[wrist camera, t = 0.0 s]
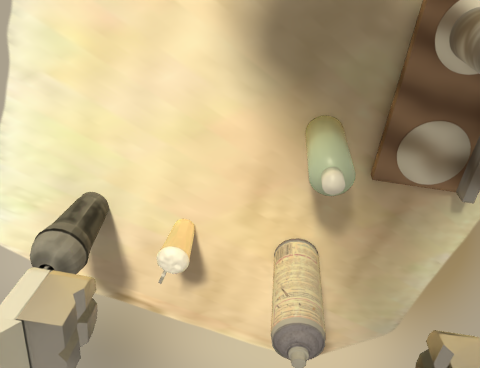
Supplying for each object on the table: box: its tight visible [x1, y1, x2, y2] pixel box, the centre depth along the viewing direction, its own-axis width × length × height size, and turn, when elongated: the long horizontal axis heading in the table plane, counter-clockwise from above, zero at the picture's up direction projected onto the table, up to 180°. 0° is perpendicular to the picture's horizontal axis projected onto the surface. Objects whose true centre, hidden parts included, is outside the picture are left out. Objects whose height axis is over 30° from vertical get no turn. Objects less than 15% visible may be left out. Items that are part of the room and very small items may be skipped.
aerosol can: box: [271, 239, 326, 368], centre depth 61 cm, size 7×7×20 cm
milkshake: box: [157, 219, 195, 284], centre depth 65 cm, size 4×5×10 cm
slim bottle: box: [305, 116, 355, 196], centre depth 53 cm, size 5×5×14 cm
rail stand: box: [371, 0, 480, 203], centre depth 51 cm, size 24×13×11 cm, turn 173°
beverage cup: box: [30, 192, 108, 274], centre depth 60 cm, size 7×7×20 cm
